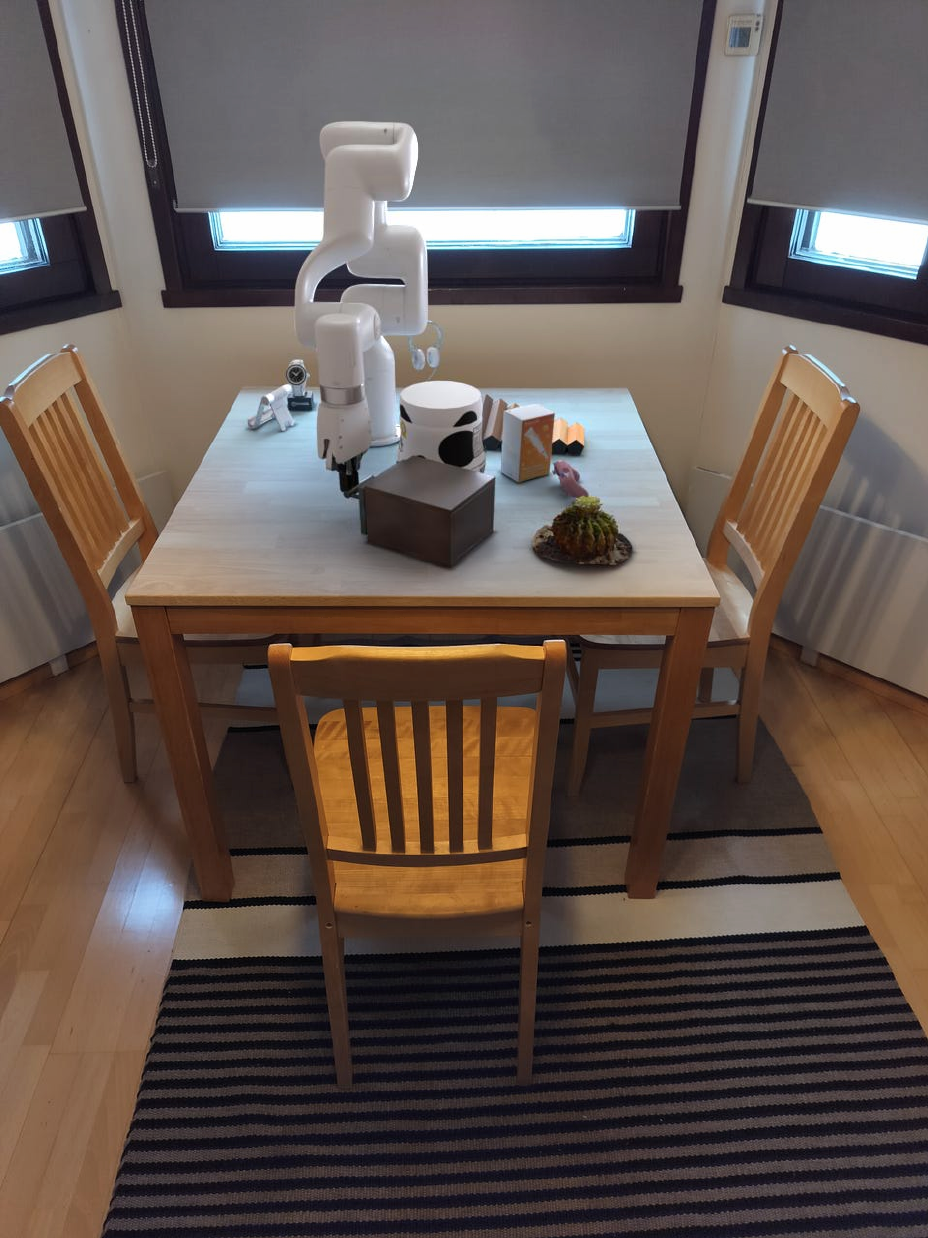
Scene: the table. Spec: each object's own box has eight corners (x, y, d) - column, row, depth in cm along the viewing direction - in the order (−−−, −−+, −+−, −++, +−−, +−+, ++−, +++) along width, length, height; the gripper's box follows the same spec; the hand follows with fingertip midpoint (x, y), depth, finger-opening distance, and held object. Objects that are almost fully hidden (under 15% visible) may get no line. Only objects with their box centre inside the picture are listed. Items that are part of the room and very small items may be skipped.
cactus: (623, 525, 150) (630, 476, 144) (640, 571, 137) (648, 519, 131) (528, 525, 149) (531, 475, 144) (536, 571, 136) (540, 518, 131)
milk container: (386, 471, 168) (383, 383, 157) (467, 460, 173) (468, 374, 162) (411, 508, 154) (409, 415, 144) (498, 495, 159) (501, 404, 149)
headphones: (437, 401, 201) (437, 316, 190) (445, 406, 198) (445, 320, 187) (407, 407, 198) (404, 321, 186) (415, 412, 195) (413, 325, 183)
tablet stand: (271, 415, 192) (266, 380, 187) (299, 421, 189) (295, 385, 185) (248, 428, 185) (243, 391, 181) (277, 434, 183) (273, 397, 178)
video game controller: (559, 487, 166) (546, 458, 162) (580, 477, 165) (567, 448, 161) (569, 510, 158) (555, 480, 154) (591, 499, 157) (577, 469, 153)
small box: (518, 483, 164) (522, 420, 156) (499, 472, 168) (502, 409, 161) (550, 474, 168) (555, 412, 160) (531, 463, 172) (535, 402, 164)
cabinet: (367, 542, 144) (364, 485, 137) (414, 509, 154) (412, 455, 148) (450, 569, 137) (450, 510, 131) (493, 532, 147) (495, 476, 141)
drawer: (335, 525, 146) (331, 479, 141) (379, 496, 156) (377, 452, 151) (436, 557, 138) (436, 509, 133) (477, 524, 148) (478, 478, 142)
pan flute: (478, 407, 198) (466, 448, 178) (478, 393, 196) (466, 433, 176) (583, 412, 196) (583, 455, 176) (584, 398, 194) (584, 440, 174)
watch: (287, 413, 193) (282, 366, 187) (291, 401, 200) (286, 355, 194) (311, 413, 194) (307, 366, 187) (314, 401, 200) (310, 355, 194)
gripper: (351, 376, 146) (358, 472, 157) (296, 401, 136) (306, 502, 146) (386, 383, 143) (390, 481, 154) (332, 409, 133) (340, 512, 143)
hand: (349, 491), depth 150 cm, fingers closed
